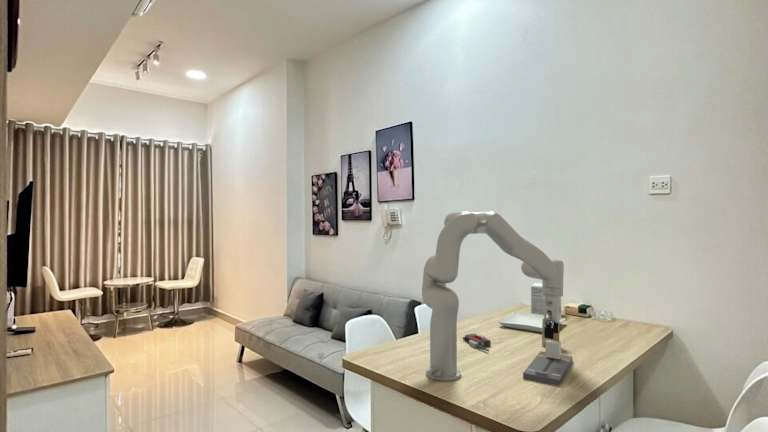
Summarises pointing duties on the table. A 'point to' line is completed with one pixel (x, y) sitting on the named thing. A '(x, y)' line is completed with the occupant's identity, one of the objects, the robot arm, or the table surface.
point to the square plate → (525, 321)
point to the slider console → (548, 369)
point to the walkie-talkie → (477, 341)
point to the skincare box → (556, 338)
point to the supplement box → (537, 299)
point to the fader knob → (553, 349)
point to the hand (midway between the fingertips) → (551, 335)
